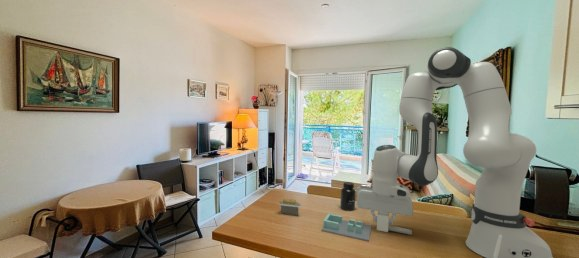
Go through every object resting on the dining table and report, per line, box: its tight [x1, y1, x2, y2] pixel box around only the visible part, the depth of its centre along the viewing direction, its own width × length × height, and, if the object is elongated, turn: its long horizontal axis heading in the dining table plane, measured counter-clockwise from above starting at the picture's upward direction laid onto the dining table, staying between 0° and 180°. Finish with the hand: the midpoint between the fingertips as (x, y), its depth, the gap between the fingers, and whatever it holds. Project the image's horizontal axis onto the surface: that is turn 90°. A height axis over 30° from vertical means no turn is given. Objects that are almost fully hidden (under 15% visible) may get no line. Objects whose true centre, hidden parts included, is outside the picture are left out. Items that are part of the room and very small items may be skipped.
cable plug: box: [376, 211, 413, 236], centre depth 89 cm, size 12×4×6 cm, turn 66°
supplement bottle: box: [339, 181, 357, 211], centre depth 111 cm, size 7×7×12 cm
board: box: [321, 213, 372, 242], centre depth 91 cm, size 17×12×3 cm
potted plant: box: [278, 198, 302, 216], centre depth 104 cm, size 12×18×7 cm, turn 75°
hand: (382, 222), depth 91 cm, fingers closed on cable plug, 4 cm apart
